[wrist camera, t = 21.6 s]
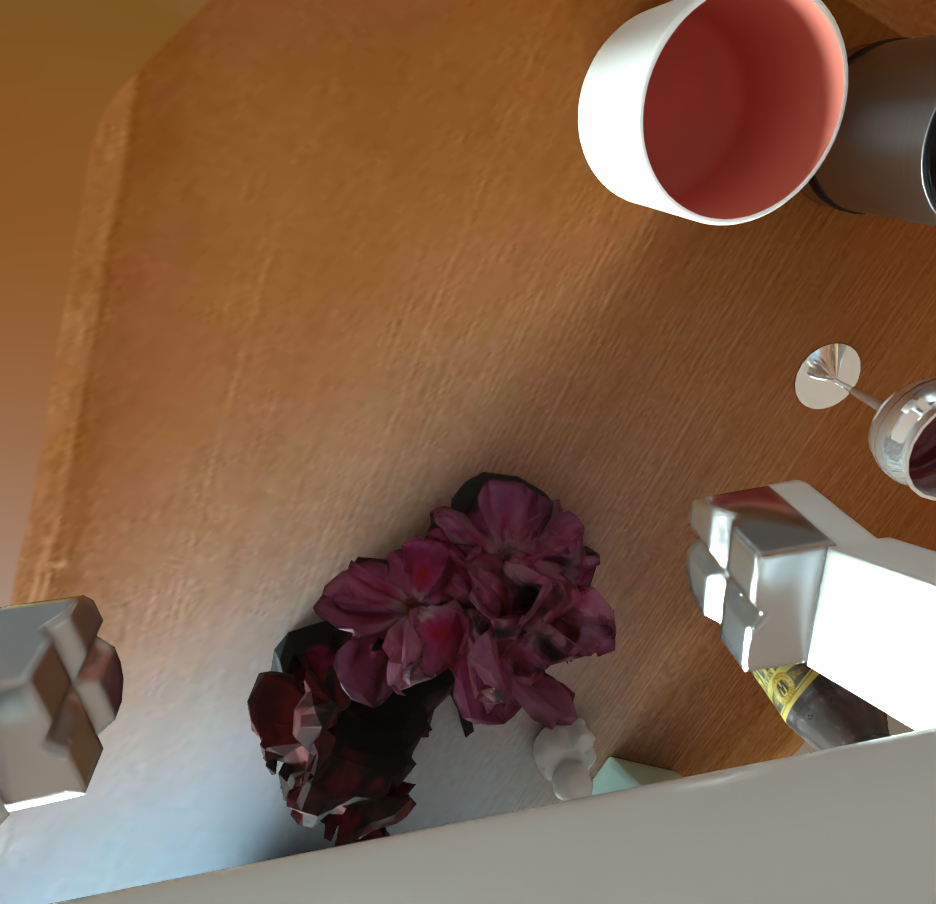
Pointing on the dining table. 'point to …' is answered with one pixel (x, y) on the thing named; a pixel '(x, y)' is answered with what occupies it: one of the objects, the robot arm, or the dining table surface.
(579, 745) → the grey figurine
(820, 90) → the cup
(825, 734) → the sauce bottle
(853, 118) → the canister
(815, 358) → the wineglass
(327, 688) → the flower arrangement
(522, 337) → the dining table surface
